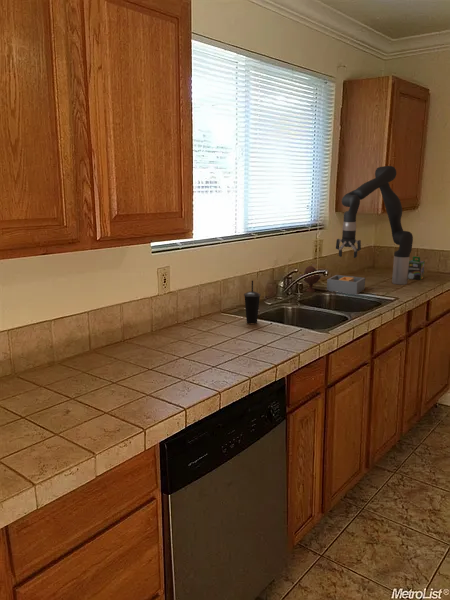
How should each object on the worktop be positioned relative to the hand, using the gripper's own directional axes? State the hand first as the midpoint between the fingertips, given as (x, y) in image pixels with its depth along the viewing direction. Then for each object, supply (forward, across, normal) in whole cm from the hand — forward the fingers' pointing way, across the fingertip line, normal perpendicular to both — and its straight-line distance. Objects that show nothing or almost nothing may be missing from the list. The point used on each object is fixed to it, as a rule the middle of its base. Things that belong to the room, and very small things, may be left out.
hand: (347, 257), depth 302 cm
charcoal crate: (+20, 0, 0) cm, 20 cm away
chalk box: (+20, -28, -59) cm, 68 cm away
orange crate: (+19, 0, 0) cm, 19 cm away
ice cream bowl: (+20, +17, +13) cm, 29 cm away
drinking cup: (+20, +15, +91) cm, 94 cm away
